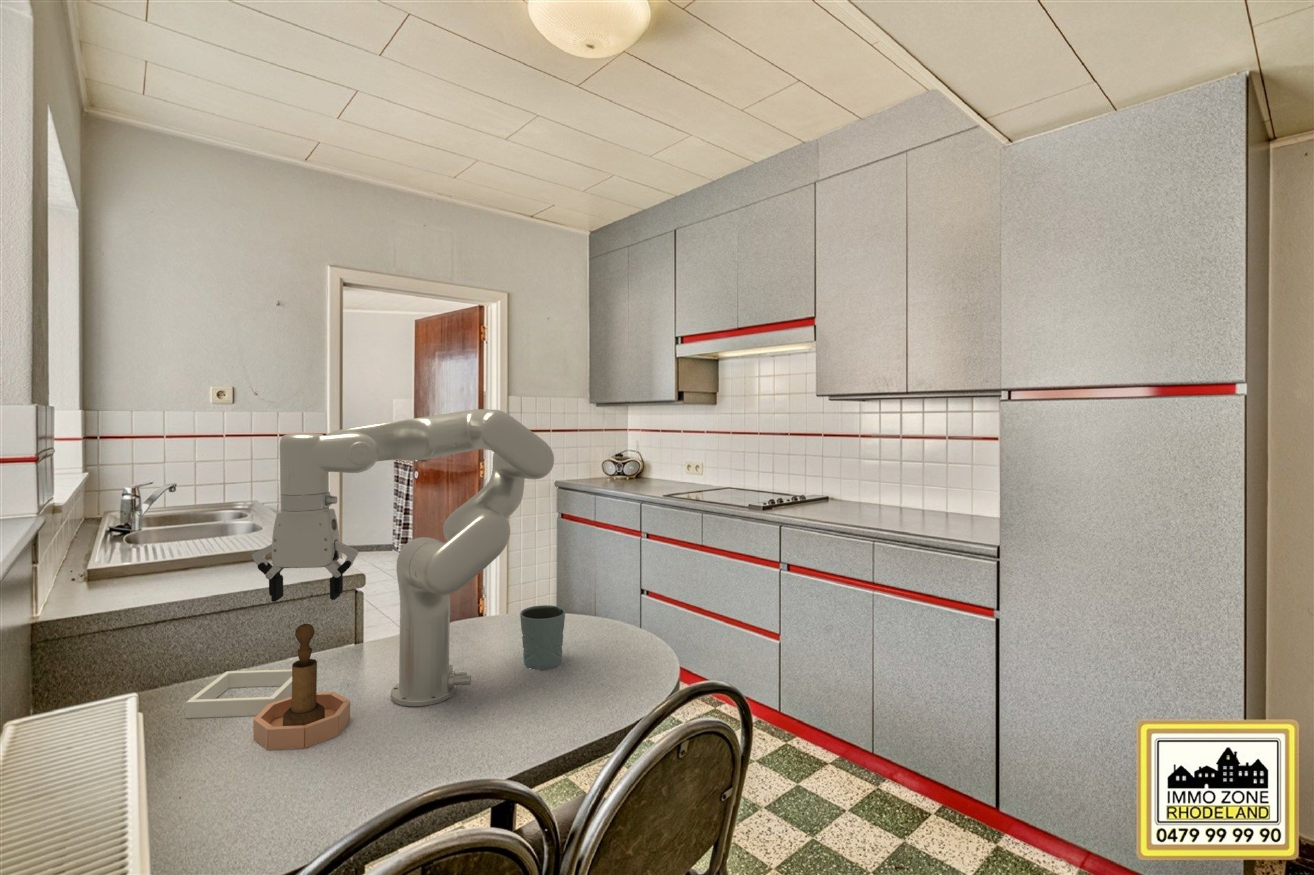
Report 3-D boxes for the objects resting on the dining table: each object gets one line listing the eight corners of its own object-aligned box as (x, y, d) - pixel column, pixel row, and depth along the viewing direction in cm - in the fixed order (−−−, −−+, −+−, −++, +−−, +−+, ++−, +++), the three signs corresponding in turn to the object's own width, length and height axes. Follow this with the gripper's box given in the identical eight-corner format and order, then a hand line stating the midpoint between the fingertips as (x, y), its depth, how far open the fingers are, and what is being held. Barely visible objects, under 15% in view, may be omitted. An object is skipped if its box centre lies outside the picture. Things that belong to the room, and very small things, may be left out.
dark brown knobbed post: (305, 735, 110) (306, 632, 109) (273, 730, 111) (274, 629, 110) (332, 717, 116) (333, 620, 116) (302, 713, 118) (303, 617, 117)
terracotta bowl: (357, 709, 121) (357, 691, 121) (330, 747, 108) (330, 727, 108) (278, 712, 120) (278, 694, 119) (241, 751, 106) (241, 730, 106)
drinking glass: (573, 661, 148) (574, 610, 147) (543, 675, 139) (544, 621, 139) (540, 651, 153) (541, 602, 153) (509, 665, 144) (510, 612, 144)
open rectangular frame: (304, 683, 132) (304, 669, 132) (273, 714, 118) (273, 699, 118) (226, 685, 130) (226, 671, 130) (185, 718, 116) (185, 702, 116)
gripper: (363, 499, 117) (364, 591, 118) (262, 500, 115) (264, 593, 116) (349, 505, 110) (350, 603, 111) (241, 506, 107) (243, 606, 108)
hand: (306, 598), depth 113 cm, fingers open, 9 cm apart
